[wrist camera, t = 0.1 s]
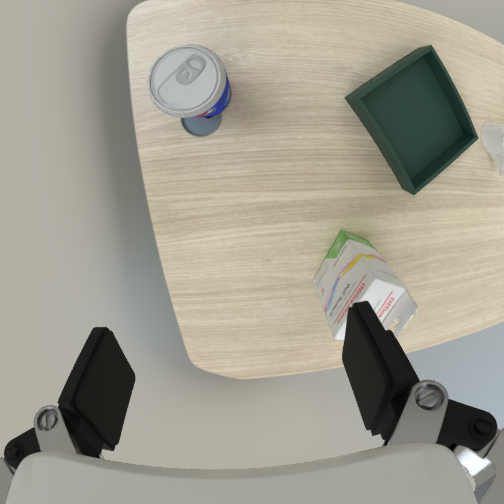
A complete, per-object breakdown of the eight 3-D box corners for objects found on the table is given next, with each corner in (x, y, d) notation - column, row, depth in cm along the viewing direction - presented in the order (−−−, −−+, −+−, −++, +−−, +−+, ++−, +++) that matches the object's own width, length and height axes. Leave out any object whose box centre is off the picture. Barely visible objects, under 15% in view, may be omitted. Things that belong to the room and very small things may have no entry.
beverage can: (212, 125, 30) (190, 133, 17) (175, 100, 28) (128, 91, 15) (241, 90, 28) (243, 69, 15) (204, 65, 27) (177, 27, 13)
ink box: (339, 227, 36) (389, 293, 23) (369, 240, 37) (423, 305, 24) (310, 282, 40) (339, 360, 27) (339, 291, 41) (375, 366, 28)
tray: (344, 97, 29) (353, 96, 26) (418, 47, 25) (431, 44, 22) (402, 188, 34) (414, 195, 31) (465, 135, 30) (478, 138, 28)
